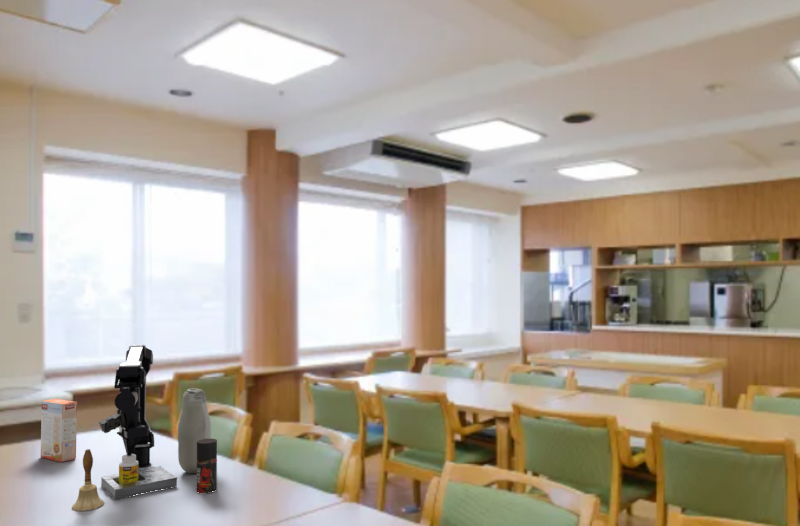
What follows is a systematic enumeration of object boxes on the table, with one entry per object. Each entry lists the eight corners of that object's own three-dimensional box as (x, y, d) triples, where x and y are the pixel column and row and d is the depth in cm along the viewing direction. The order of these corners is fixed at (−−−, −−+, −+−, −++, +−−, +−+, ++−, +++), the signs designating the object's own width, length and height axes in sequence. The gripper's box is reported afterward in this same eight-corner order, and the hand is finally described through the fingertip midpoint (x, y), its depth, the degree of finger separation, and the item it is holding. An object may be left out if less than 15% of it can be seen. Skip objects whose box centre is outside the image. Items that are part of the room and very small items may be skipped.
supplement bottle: (120, 493, 186) (120, 458, 187) (117, 488, 191) (117, 454, 191) (139, 489, 189) (140, 456, 190) (136, 484, 194) (136, 452, 195)
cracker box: (77, 459, 224) (78, 401, 225) (60, 463, 219) (61, 404, 220) (56, 453, 231) (57, 397, 232) (39, 457, 226) (40, 400, 227)
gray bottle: (216, 469, 210) (216, 387, 211) (194, 478, 200) (194, 391, 202) (193, 466, 214) (194, 385, 215) (171, 474, 205) (172, 389, 206)
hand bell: (70, 513, 170) (71, 455, 171) (73, 503, 178) (73, 447, 178) (103, 508, 173) (104, 451, 174) (104, 499, 181) (105, 444, 182)
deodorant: (220, 488, 190) (220, 439, 191) (208, 494, 185) (209, 444, 185) (204, 486, 192) (204, 438, 193) (192, 492, 187) (192, 442, 187)
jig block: (159, 475, 204) (160, 465, 204) (176, 487, 192) (176, 477, 192) (101, 486, 193) (101, 476, 193) (115, 500, 180) (115, 489, 180)
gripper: (94, 403, 193) (93, 453, 193) (109, 413, 179) (109, 467, 178) (131, 399, 200) (130, 447, 200) (149, 408, 186) (148, 460, 185)
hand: (129, 455), depth 191 cm, fingers closed
